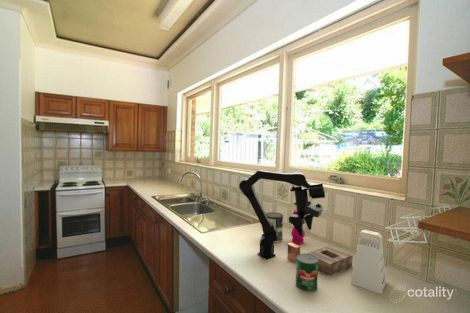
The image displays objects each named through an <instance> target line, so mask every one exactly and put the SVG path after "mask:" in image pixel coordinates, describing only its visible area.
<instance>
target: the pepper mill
mask: <svg viewBox="0 0 470 313" xmlns="http://www.w3.org/2000/svg"><path fill="white" fill-rule="evenodd" d="M295 211H297V208H295V209H294V210H293V212H292V215H293V214H295ZM296 215H298V214H296ZM290 234H291V237H292V238H291V243H294V244H296V245H299V244H300V245H302V244H304V243H305V242H304V241H305V239H304V238H305V237H306V235H305V234H306V233H305V230H304V229H303V236H300V235H299V233H298V232H297V230H296V228H295V227H294V226H293V228H292V230H291V233H290Z"/></svg>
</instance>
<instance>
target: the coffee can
mask: <svg viewBox="0 0 470 313" xmlns="http://www.w3.org/2000/svg"><path fill="white" fill-rule="evenodd" d="M265 214H266V216H267V218H268V220H269V221H270V222H271V223H272V222H274V223H275V226H276V227H277V228H278V230H277V239H276V241H274V243H281V242H282V241H283V240H284V239H283V238H284V235H283V233H284V232H283V230H284V214H283V213H281V212H273V211H272V212H266V213H265Z"/></svg>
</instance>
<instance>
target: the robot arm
mask: <svg viewBox="0 0 470 313" xmlns="http://www.w3.org/2000/svg"><path fill="white" fill-rule="evenodd" d="M260 180H269V181H275V182H284V183H287V184H290V185H292V186H291V187H290V188H289V191H290V192H293V193H294V198H295V200H294V203H293V205H294V206H295V207H296V208H295V209H297V211H295V214H293V213H292V215H290V216H289V217H288V223H290V224H291V225H292V226H293V227H295V228H296V230H297V232H298V233H299V235H300V236H303V230H304V225H306V227H307V229H308V230H309V231H311V230H312V225H313V221H314V220H313V219H314V218H319V217H320V216H321V215H322V212H323V211H324V209H323V206H322V204H321V203H316V205H315V204H312V203H311V200H309V198H311V199H312V200H313V199H314V200H315V199H317V200H318V199H325V197H326V193H325V189H324V186H323V183H322V182H318V183H312V184H310V182H308V181H307V179H306V175H305V174H303V173H302V172H288V173H287V172H278V171H270V170H269V171H268V170H262V169H258V170H257V171H255V172H254V174H252V175H251V176H250V177H248V178H244V179H243V180H241V181H239V185H238V186H239V188H238V189H239V190H240V191H241V193H242V194H243V196H245V197H246V198H247V199H248V201H249V203H250V205H251V207H252V209H253V211H254V213H255V216H256V218H257V219H258V221H259V223H260V225H261V229H262V232H263V233H262V234H261V237H260V240H259V252H257V255H258V256H260V257H262V258H263V259H265V260H268V259H271V258H274V257H276V256H277V255H276V254H275V242H274V241H276V239H277V230H278V228H277V227H276V226H275V223H274V222H272V223H271V222H270V221H269V220H268V218H267V216H266V213H265V210H264V207H263V206H262V204H261V202H260V200H259V199H258V196H257V194H256V190H255V186H254V185H255V184H256V183H257V182H259V181H260ZM308 196H309V197H308ZM296 214H298V215H296Z"/></svg>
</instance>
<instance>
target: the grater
mask: <svg viewBox="0 0 470 313" xmlns="http://www.w3.org/2000/svg"><path fill="white" fill-rule="evenodd" d="M362 233H366V234H369V235H373V236H378V237H379V239H380V240H379V241H376V240H371V239H366V238H361V237H362ZM366 244H367V245H366ZM384 255H385V254H384V245H383V236H382V234H381V233H380V232H376V231H371V230H367V229H363V230H361V231H360V232H359V234H358V242H357V245H356V250H355V255H354V260H353V265H352V272H351V278H350V284H351V285H354V286H356V287H360V288H362V289H366V290H369V291H371V292H374V293H377V294H381V295H382V294H383V290H384V288H385V286H386V282H387V277H386V268H385V265H386V264H385V256H384Z"/></svg>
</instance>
